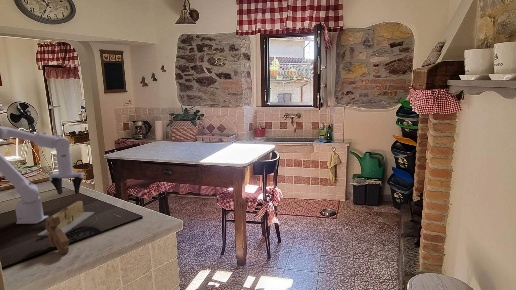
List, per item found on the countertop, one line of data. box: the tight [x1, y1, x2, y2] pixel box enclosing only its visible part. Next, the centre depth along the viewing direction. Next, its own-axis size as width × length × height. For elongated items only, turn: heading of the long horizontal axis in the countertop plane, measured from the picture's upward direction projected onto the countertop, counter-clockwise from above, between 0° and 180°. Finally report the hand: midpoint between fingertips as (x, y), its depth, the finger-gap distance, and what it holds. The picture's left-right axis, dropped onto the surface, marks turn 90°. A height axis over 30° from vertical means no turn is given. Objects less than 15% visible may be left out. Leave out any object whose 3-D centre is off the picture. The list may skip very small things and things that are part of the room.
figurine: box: [45, 215, 70, 256], centre depth 123 cm, size 13×2×15 cm
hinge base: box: [52, 211, 72, 229], centre depth 143 cm, size 11×3×6 cm, turn 176°
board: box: [37, 211, 95, 237], centre depth 148 cm, size 24×10×1 cm, turn 176°
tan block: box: [60, 200, 85, 221], centre depth 151 cm, size 12×4×6 cm, turn 176°
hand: (68, 193), depth 158 cm, fingers open, 7 cm apart
